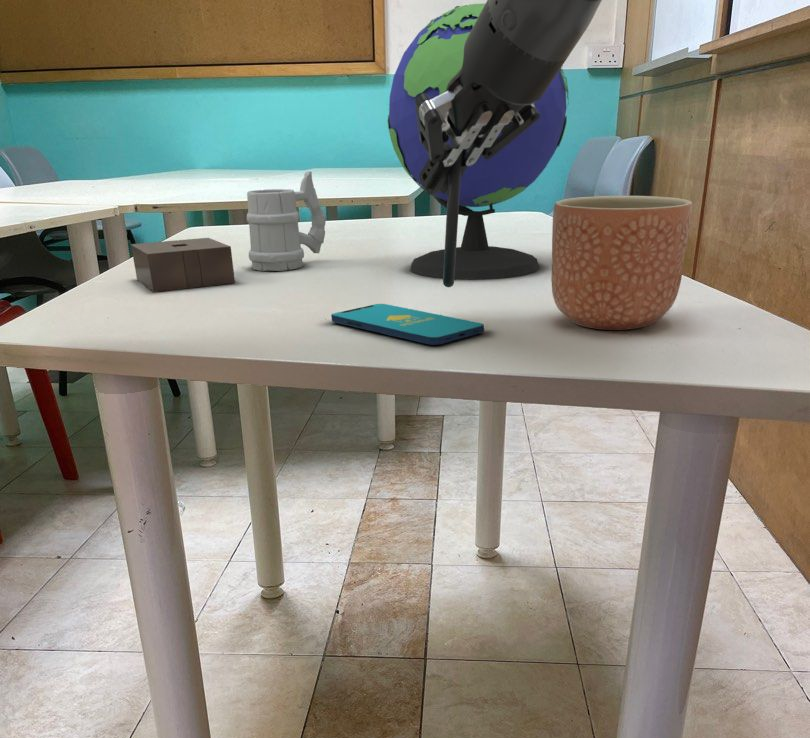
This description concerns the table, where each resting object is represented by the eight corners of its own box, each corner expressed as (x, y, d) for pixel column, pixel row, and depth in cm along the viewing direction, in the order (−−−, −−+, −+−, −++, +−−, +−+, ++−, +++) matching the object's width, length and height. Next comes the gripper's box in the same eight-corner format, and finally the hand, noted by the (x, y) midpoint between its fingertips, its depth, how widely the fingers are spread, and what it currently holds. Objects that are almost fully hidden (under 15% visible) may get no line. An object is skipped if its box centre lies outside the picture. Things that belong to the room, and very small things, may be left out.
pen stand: (153, 292, 99) (147, 253, 97) (136, 280, 107) (130, 244, 105) (235, 283, 103) (230, 246, 101) (213, 272, 111) (208, 237, 109)
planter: (523, 317, 82) (528, 200, 77) (622, 304, 86) (633, 193, 81) (596, 344, 72) (608, 212, 67) (705, 327, 76) (724, 202, 71)
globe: (369, 280, 103) (356, -3, 89) (417, 253, 122) (413, 17, 108) (545, 285, 97) (561, -17, 83) (567, 256, 116) (584, 6, 102)
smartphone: (434, 336, 72) (327, 312, 81) (434, 346, 72) (327, 321, 82) (488, 323, 76) (380, 302, 86) (488, 332, 76) (381, 310, 86)
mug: (240, 267, 114) (230, 174, 109) (313, 258, 120) (307, 169, 115) (264, 273, 109) (255, 176, 103) (340, 264, 115) (334, 171, 109)
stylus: (446, 289, 79) (454, 139, 72) (440, 286, 80) (448, 138, 73) (455, 288, 79) (465, 139, 72) (450, 285, 80) (459, 138, 73)
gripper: (569, -11, 67) (469, 152, 81) (443, -23, 59) (357, 158, 74) (614, 60, 65) (504, 212, 80) (490, 56, 58) (393, 225, 72)
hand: (433, 186), depth 77 cm, fingers closed on stylus, 1 cm apart
